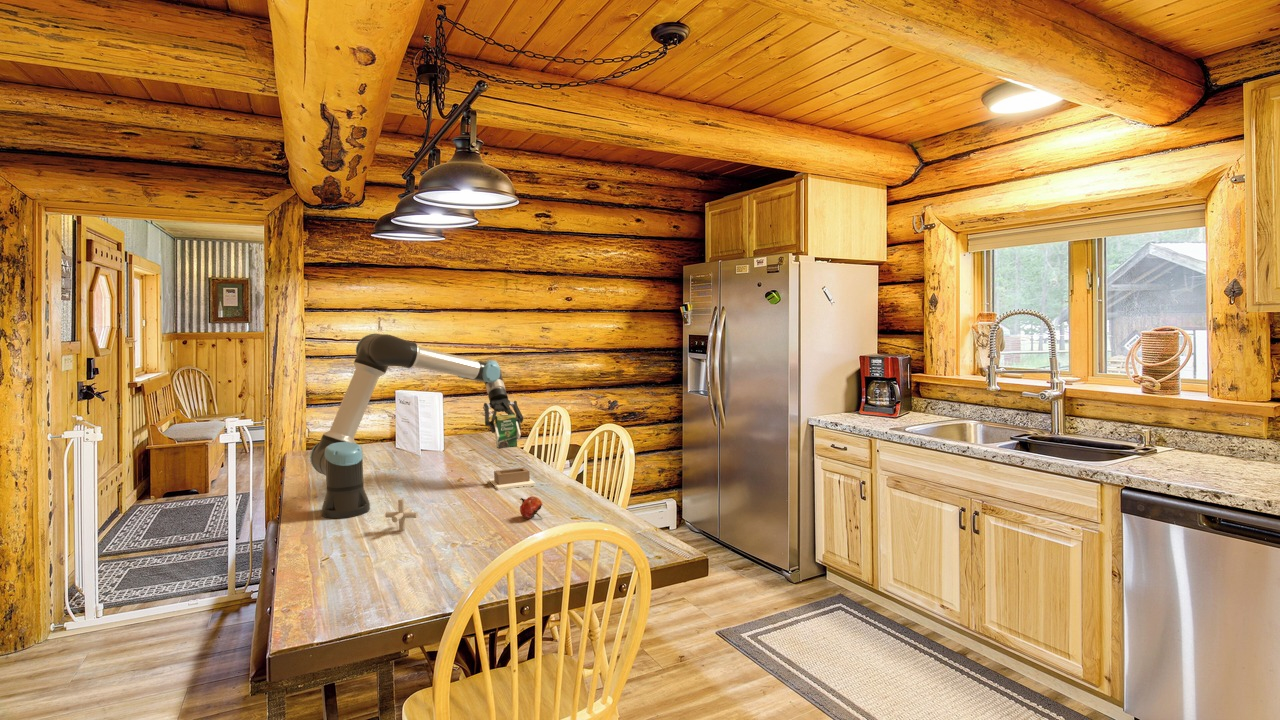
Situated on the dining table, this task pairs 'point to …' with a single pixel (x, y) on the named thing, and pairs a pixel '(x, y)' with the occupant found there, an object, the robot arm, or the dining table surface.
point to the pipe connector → (401, 514)
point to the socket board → (512, 478)
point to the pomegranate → (530, 507)
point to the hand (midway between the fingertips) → (508, 437)
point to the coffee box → (506, 431)
